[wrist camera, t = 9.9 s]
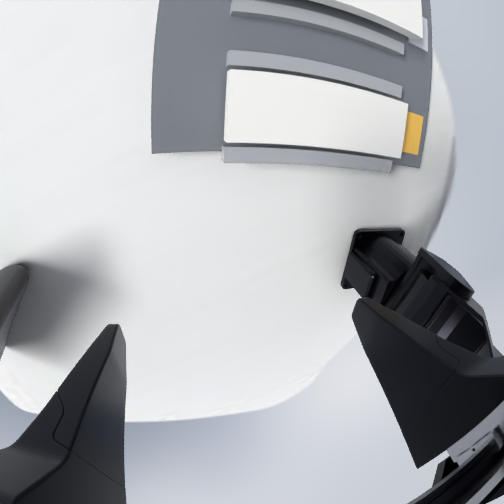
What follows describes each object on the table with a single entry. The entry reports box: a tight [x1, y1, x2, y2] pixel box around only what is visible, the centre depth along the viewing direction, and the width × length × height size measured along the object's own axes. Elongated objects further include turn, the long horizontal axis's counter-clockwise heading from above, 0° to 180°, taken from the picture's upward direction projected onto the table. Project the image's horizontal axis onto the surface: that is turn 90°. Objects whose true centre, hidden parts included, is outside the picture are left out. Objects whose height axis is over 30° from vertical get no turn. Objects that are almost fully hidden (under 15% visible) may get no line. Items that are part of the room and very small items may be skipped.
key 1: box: [224, 69, 408, 159], centre depth 16 cm, size 13×4×1 cm, turn 86°
